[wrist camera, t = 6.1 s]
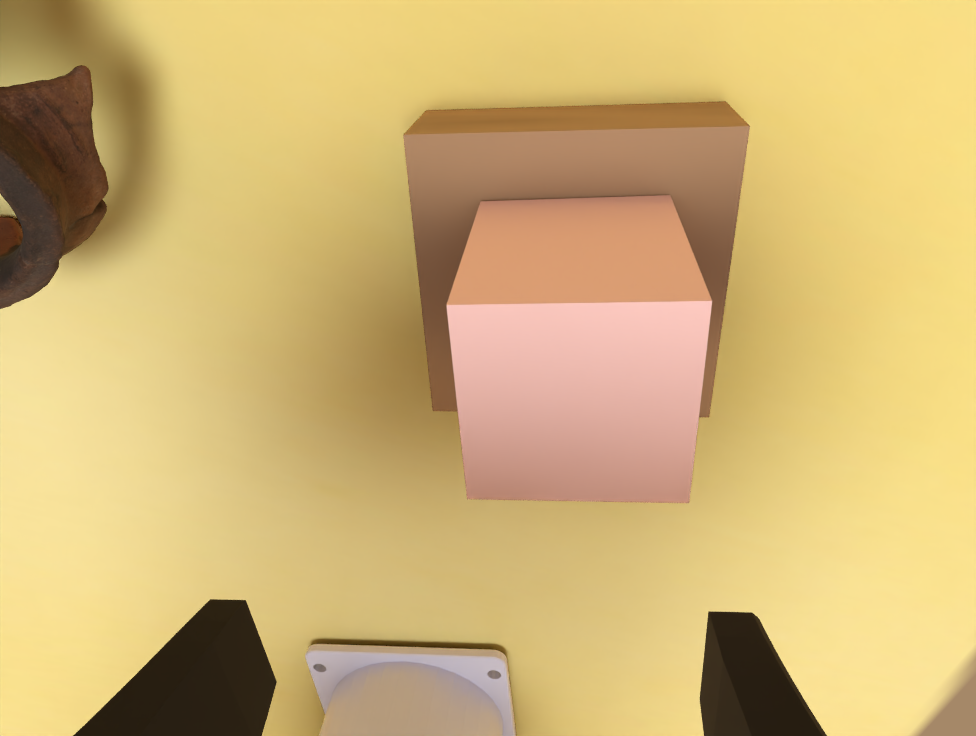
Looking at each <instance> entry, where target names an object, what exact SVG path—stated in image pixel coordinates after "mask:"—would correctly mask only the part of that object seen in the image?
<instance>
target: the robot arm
mask: <svg viewBox="0 0 976 736" xmlns="http://www.w3.org/2000/svg"><path fill="white" fill-rule="evenodd" d="M305 659H306V662H307V664H308V667H309V670H310V673H311V676H312V679H313V682H314V684H315V687H316V690H317V693H318V696H319V699H320V702H321V704H322V707H323V710H324V713H325V718H324V721H323V724H322V727H321V730H320V733H319V736H516V729H515V721H514V713H513V705H512V696H511V688H510V680H509V672H508V664H507V658H506V656H505V655H504V654H503V653H502V652H500V651H498V650H490V649H460V648H429V647H399V646H369V645H338V644H313V645H311V646H309V648H308V649H307V652H306V655H305ZM275 686H276V679H275V676H274V674H273V671H272V668H271V666H270V663H269V660H268V658H267V655H266V653H265V650H264V647H263V645H262V642H261V639H260V637H259V634H258V631H257V629H256V626H255V623H254V621H253V618H252V616H251V613H250V610H249V608H248V605H247V602H246V600H212V599H210V600H209V601H208V602H207V603H206V604H205V605H204V606H203V607H202V608H201V609H200V610H199V611H198V612H197V613H196V614H195V615H194V616H193V617H192V618H191V619H190V620H189V621H188V622H187V623H186V624H185V625H184V626H183V627H182V628H181V629H180V630H179V631H178V632H177V633H176V634H175V635H174V636H173V637H172V638H171V640H170V641H169V642H168V643H167V644H166V645H165V646H164V647H163V648H162V649H161V650H160V651H159V652H158V653H157V654H156V655H155V656H154V657H153V658H152V659H151V660H150V661H149V662H148V663H147V664H146V665H145V666H144V667H143V668H142V669H141V670H140V671H139V672H138V673H137V674H136V675H135V676H134V677H133V678H132V679H131V680H130V681H129V682H128V683H127V684H126V685H125V686H124V687H123V688H122V689H121V690H120V691H119V692H118V693H117V694H116V695H115V696H114V697H113V698H112V699H111V700H110V701H109V702H108V703H107V704H106V705H105V706H104V707H103V708H102V709H101V710H100V711H99V712H97V713H96V714H95V715H94V716H93V717H92V718H91V719H90V720H89V721H88V722H87V723H86V724H85V725H84V726H83V727H82V728H81V729H80V730H79V731H78V732H77V733H76V734H75V735H73V736H262V732H263V729H264V726H265V722H266V719H267V715H268V712H269V708H270V704H271V701H272V697H273V693H274V689H275ZM700 705H701V713H702V722H703V730H704V736H827V735H826V734H825V732H824V731H823V729H822V728H821V726H820V724H819V723H818V721H817V720H816V718H815V716H814V715H813V713H812V712H811V710H810V709H809V707H808V705H807V704H806V702H805V700H804V699H803V697H802V695H801V694H800V692H799V690H798V689H797V687H796V685H795V684H794V682H793V680H792V679H791V677H790V675H789V673H788V672H787V670H786V668H785V666H784V665H783V663H782V661H781V659H780V658H779V656H778V654H777V652H776V650H775V649H774V647H773V645H772V643H771V641H770V639H769V637H768V635H767V634H766V632H765V630H764V628H763V626H762V624H761V622H760V620H759V618H758V617H757V616H755V615H754V614H753V613H745V612H709V613H708V623H707V633H706V643H705V652H704V662H703V672H702V682H701V692H700Z"/></svg>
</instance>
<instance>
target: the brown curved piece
mask: <svg viewBox="0 0 976 736" xmlns="http://www.w3.org/2000/svg"><path fill="white" fill-rule="evenodd" d="M92 106H93V92H92V83H91V74H90V71H89V69H88V68H87V67H86V66H82V65H80V66H77V67H75V68H74V69H73V70H72V71H71V72H70V73H68V74H66V75H65V76H60V77H57V78H55V79H51V80H41V81H35V82H30V83H26V84H20V85H13V86H10V87H0V194H1V195H2V196H3V198H4V199H5V200H6V201H7V202H8V203H9V205H10V206H11V208H12V209H13V211H14V212H15V214H16V216H17V218H18V221H19V222H20V224H21V227H22V229H21V227H20V225H19V223H18V222H17V221H16V220H15V219H13V218H5V217H0V309H1V308H5V307H8V306H11V305H12V304H14V303H16V302H19V301H21V300H24V299H26V298H29V297H31V296H32V295H34V294H35V293H37V292H38V291H40V290H41V289H42V288H43V287H45V286H46V285H47V284H48V283H49V282H50V280H51V279H52V277H53V276H54V274H55V273H56V271H57V269H58V267H59V259H60V258H61V257H62V256H63V255H65V254H67V253H69V252H70V251H71V250H73V249H74V248H76V247H77V246H79V245H80V244H81V243H82V242H84V241H85V240H86V239H87V238H88V237H89V236H90V235H91V234H92V233H93V232H94V231H95V229H96V227H97V226H98V224H99V223H100V221H101V220H102V219H103V217H104V215H105V213H106V209H107V206H106V204H105V202H104V201H103V200H102V199H103V198H104V197H105V195H106V193H107V192H108V182H107V177H106V172H105V170H104V168H103V166H102V164H101V162H100V159H99V155H98V152H97V150H96V147H95V142H94V137H93V129H92V119H91V110H92Z"/></svg>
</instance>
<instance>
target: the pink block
mask: <svg viewBox="0 0 976 736" xmlns="http://www.w3.org/2000/svg"><path fill="white" fill-rule="evenodd" d="M446 306H447V316H448V325H449V334H450V344H451V353H452V362H453V371H454V381H455V390H456V399H457V409H458V418H459V427H460V437H461V446H462V455H463V464H464V474H465V483H466V492H467V499H491V500H547V501H603V502H658V503H689V499H690V490H691V482H692V473H693V464H694V456H695V447H696V438H697V429H698V421H699V412H700V403H701V394H702V386H703V377H704V368H705V360H706V351H707V342H708V333H709V325H710V316H711V307H712V299H711V297H710V294H709V292H708V289H707V287H706V284H705V282H704V279H703V277H702V274H701V271H700V269H699V266H698V264H697V261H696V259H695V256H694V254H693V251H692V249H691V246H690V244H689V241H688V239H687V236H686V234H685V231H684V229H683V226H682V224H681V221H680V219H679V216H678V214H677V211H676V208H675V206H674V203H673V201H672V198H671V196H670V195H657V196H626V197H596V198H565V199H535V200H505V201H481V202H480V205H479V208H478V211H477V214H476V217H475V220H474V223H473V226H472V229H471V232H470V235H469V238H468V241H467V244H466V247H465V250H464V253H463V256H462V259H461V262H460V265H459V268H458V271H457V274H456V277H455V280H454V283H453V286H452V290H451V293H450V296H449V299H448V302H447V305H446Z"/></svg>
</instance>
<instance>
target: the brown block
mask: <svg viewBox="0 0 976 736" xmlns="http://www.w3.org/2000/svg"><path fill="white" fill-rule="evenodd" d="M749 128H750V126H749V125H748V124H747V123H746V122H745V121H744V120H743V119H742V118H741V117H740V116H739V115H738V114H737V113H736V112H735V111H734V110H733V109H732V108H731V107H730V106H729V104H728V103H727V102H697V103H663V104H629V105H594V106H560V107H526V108H492V109H458V110H426V111H425V112H424V113H423V114H422V116H421V117H420V118H419V119H418V120H417V121H416V122H415V123H414V124H413V125H412V126H411V127H410V128H409V129H408V130H407V131H406V133H405V134H404V135H403V136H404V145H405V154H406V164H407V173H408V183H409V192H410V201H411V211H412V220H413V229H414V239H415V248H416V258H417V267H418V276H419V286H420V295H421V304H422V314H423V323H424V333H425V342H426V351H427V361H428V370H429V379H430V389H431V398H432V408H433V411H458V409H457V399H456V390H455V381H454V371H453V362H452V353H451V344H450V334H449V325H448V316H447V306H446V305H447V302H448V299H449V296H450V293H451V290H452V286H453V283H454V280H455V277H456V274H457V271H458V268H459V265H460V262H461V259H462V256H463V253H464V250H465V247H466V244H467V241H468V238H469V235H470V232H471V229H472V226H473V223H474V220H475V217H476V214H477V211H478V208H479V205H480V202H481V201H505V200H535V199H565V198H596V197H626V196H657V195H670V196H671V198H672V201H673V203H674V206H675V208H676V211H677V214H678V216H679V219H680V221H681V224H682V226H683V229H684V231H685V234H686V236H687V239H688V241H689V244H690V246H691V249H692V251H693V254H694V256H695V259H696V261H697V264H698V266H699V269H700V271H701V274H702V277H703V279H704V282H705V284H706V287H707V289H708V292H709V294H710V297H711V299H712V307H711V316H710V325H709V333H708V342H707V351H706V360H705V368H704V377H703V386H702V394H701V403H700V412H699V417H709V414H710V406H711V399H712V392H713V385H714V378H715V371H716V364H717V356H718V349H719V342H720V335H721V328H722V321H723V314H724V306H725V299H726V292H727V285H728V278H729V271H730V264H731V257H732V249H733V242H734V235H735V228H736V221H737V214H738V207H739V199H740V192H741V185H742V178H743V171H744V164H745V157H746V149H747V142H748V135H749Z"/></svg>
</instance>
